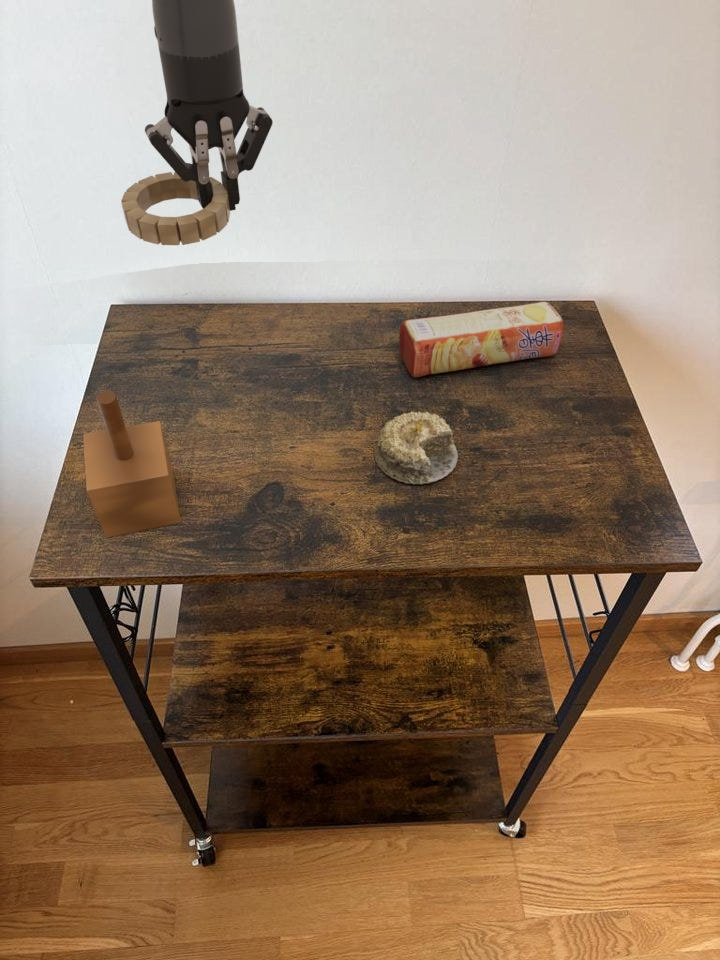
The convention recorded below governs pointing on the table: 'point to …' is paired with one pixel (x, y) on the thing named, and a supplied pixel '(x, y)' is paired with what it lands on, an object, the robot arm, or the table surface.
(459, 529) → the table surface
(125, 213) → the ring
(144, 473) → the post
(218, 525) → the table surface
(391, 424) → the cake
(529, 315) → the snack package
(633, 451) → the table surface
